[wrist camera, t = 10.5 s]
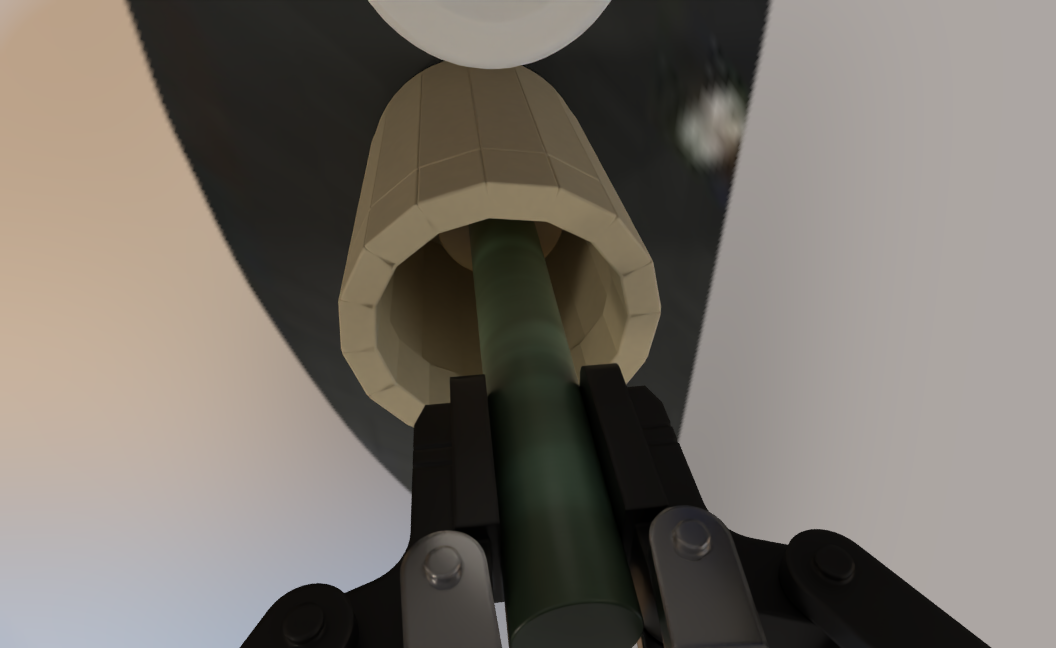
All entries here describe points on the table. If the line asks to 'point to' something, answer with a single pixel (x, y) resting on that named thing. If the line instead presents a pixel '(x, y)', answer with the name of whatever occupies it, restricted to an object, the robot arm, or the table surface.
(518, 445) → the brush
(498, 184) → the jar
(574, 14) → the sprinkles bottle
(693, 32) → the table surface
